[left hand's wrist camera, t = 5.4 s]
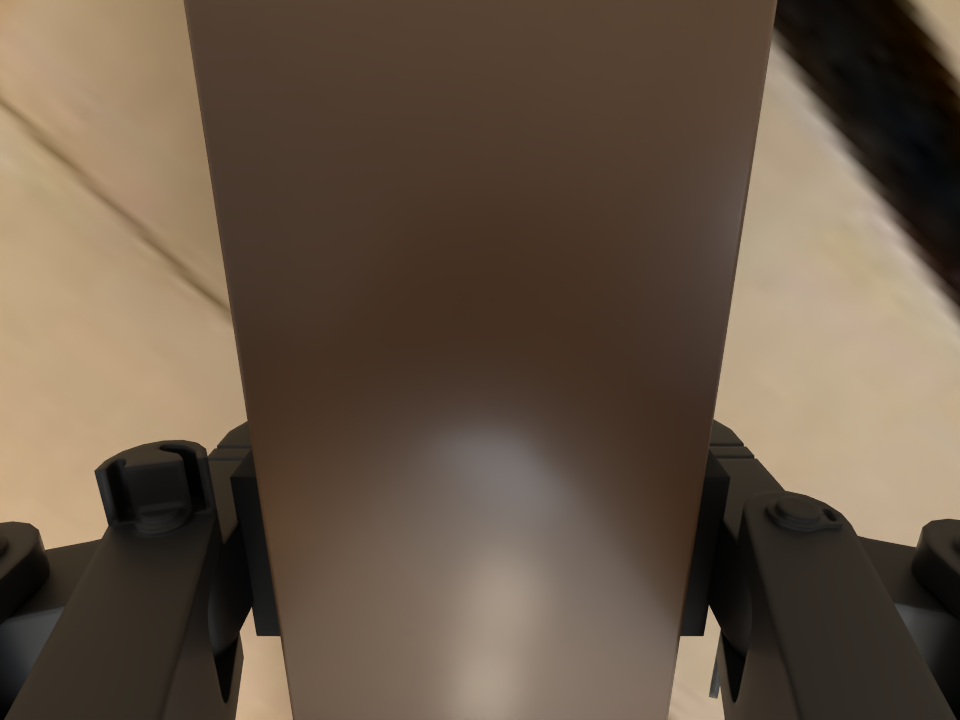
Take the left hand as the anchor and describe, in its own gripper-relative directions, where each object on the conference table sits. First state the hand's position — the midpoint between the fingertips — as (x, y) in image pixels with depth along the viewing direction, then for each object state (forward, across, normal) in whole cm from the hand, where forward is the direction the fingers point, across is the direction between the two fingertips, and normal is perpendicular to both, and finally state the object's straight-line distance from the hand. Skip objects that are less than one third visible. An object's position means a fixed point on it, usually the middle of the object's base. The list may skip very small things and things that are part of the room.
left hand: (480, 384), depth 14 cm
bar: (+1, 0, -29) cm, 29 cm away
